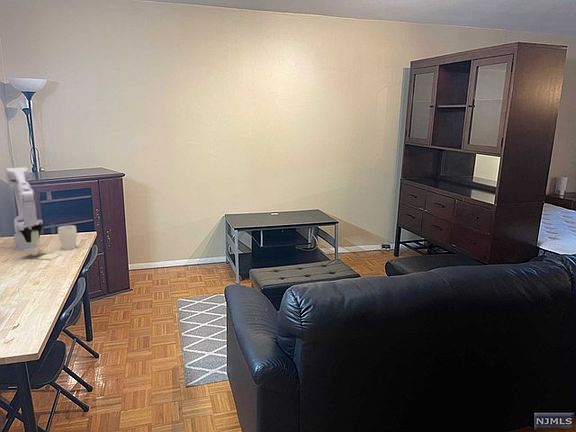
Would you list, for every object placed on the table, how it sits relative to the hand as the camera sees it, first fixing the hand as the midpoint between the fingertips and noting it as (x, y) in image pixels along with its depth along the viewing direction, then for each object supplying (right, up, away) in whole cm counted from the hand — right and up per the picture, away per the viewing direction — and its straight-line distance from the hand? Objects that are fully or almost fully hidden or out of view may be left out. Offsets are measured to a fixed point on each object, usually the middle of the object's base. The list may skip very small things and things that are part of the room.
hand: (32, 240), depth 215 cm
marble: (0, -6, +1) cm, 7 cm away
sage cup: (0, -1, 0) cm, 1 cm away
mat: (+4, -9, +1) cm, 9 cm away
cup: (+10, -5, +16) cm, 20 cm away
